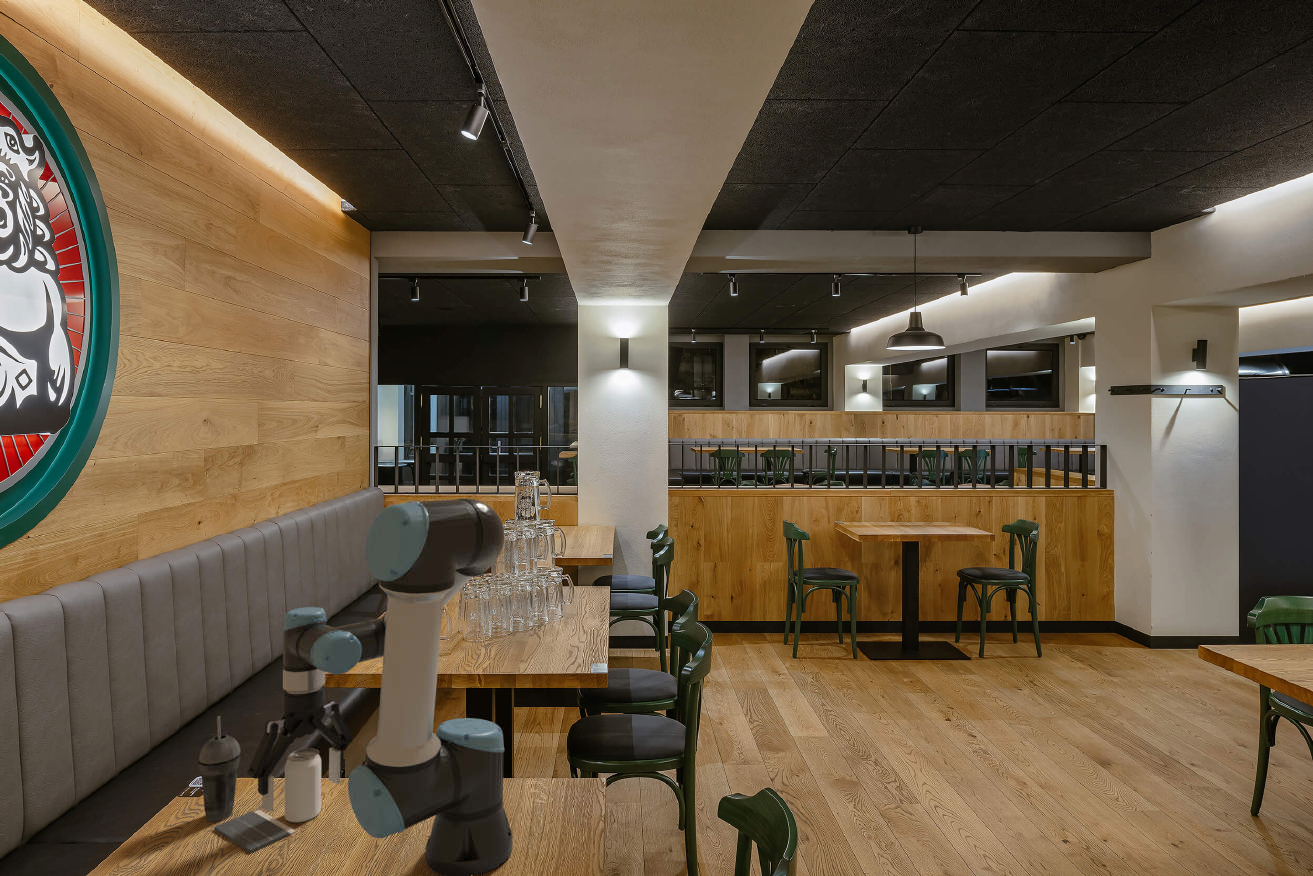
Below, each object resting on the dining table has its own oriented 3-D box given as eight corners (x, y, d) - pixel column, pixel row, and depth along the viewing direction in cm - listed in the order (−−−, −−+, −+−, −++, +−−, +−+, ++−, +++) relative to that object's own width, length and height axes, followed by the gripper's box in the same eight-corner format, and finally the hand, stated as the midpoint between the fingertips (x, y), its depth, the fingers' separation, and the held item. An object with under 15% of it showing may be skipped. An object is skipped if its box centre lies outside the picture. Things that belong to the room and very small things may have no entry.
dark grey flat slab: (295, 832, 135) (295, 829, 135) (250, 853, 129) (250, 850, 129) (259, 811, 143) (259, 808, 143) (214, 830, 136) (214, 826, 136)
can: (306, 825, 138) (306, 763, 138) (276, 822, 139) (277, 760, 139) (328, 808, 144) (328, 749, 144) (299, 805, 146) (300, 746, 146)
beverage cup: (244, 804, 146) (245, 705, 146) (235, 822, 139) (236, 718, 139) (203, 809, 144) (204, 709, 144) (192, 828, 137) (193, 723, 137)
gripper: (350, 667, 154) (349, 766, 154) (228, 702, 134) (226, 815, 134) (371, 674, 150) (370, 775, 150) (248, 711, 129) (246, 829, 129)
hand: (302, 795), depth 142 cm, fingers open, 13 cm apart
